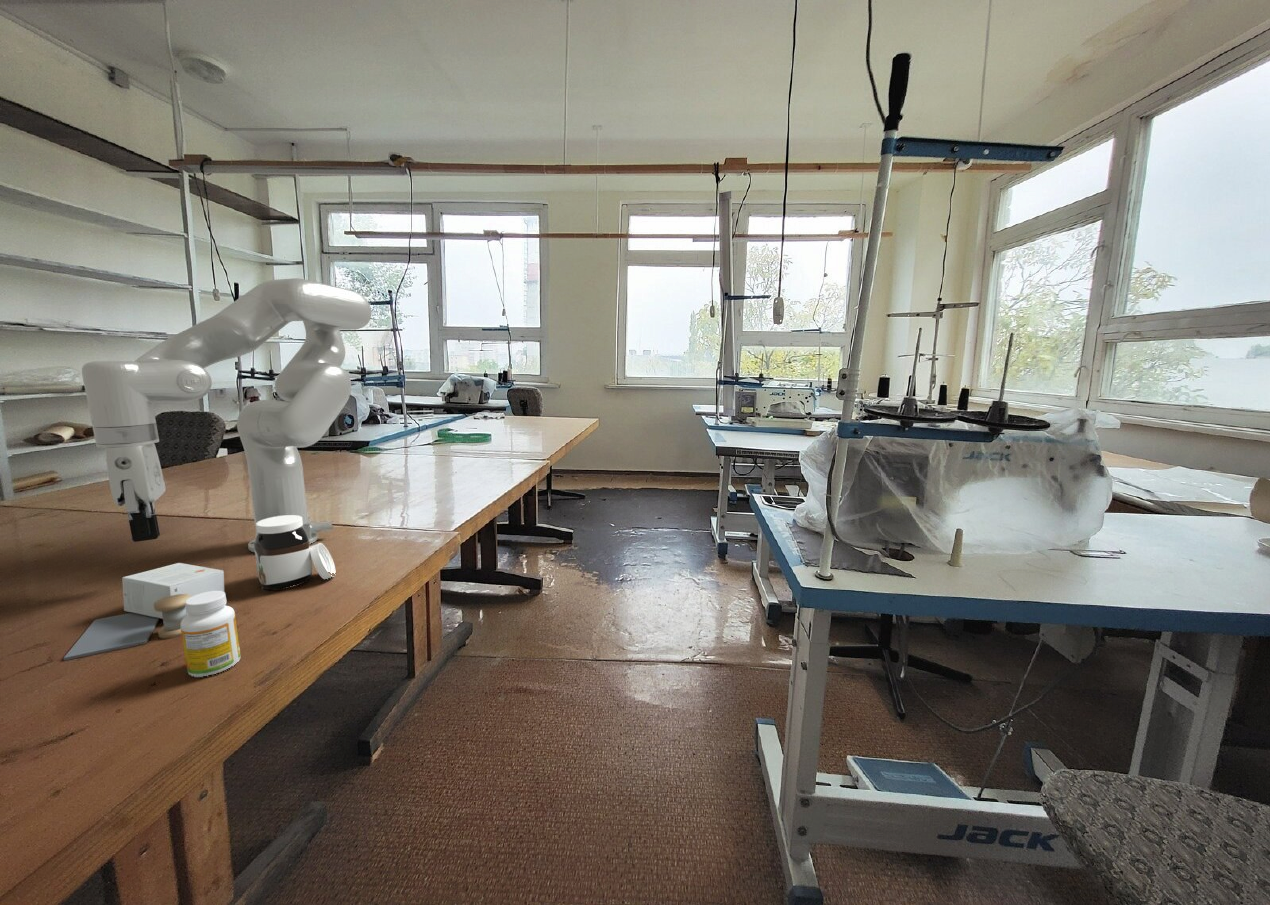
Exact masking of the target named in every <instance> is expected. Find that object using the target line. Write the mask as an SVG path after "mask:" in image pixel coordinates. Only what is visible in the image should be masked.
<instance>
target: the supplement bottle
mask: <svg viewBox="0 0 1270 905" xmlns="http://www.w3.org/2000/svg"><path fill="white" fill-rule="evenodd" d="M226 596H227V595H226V592H225V591H224V592H223V591H209V592H204V593H200V594H197V595H195V596H192V597H190V598H188V599H187V600H186V601H185V608H186V613H187V614H188V615H187V616H185V617H184V618H183V620H182V621H181V624H180V625H181V633H182V636H181V639H182V644H183V652H184V657H185V665H186V669H187V673H188V675H189V676H190V675H191V677H193V676H194V677H193V678H204V677H203V676H207V677H209V676H208V675H211V674H216V673H218V672H221V671H223V670H226V669H228V668H230V667H231V666H233V667H234V665H235V664H236V663H237V662H238V663H239V662H240V660H241V658H242V657H241V649H240V642H239V634H238V627H237V626H238V625H237V620H236V612H235V610H234V608H233V607H231V606H229V605H227V597H226ZM238 663H237V664H238ZM237 664H236V665H237ZM236 665H235V666H236ZM230 669H231V668H230ZM228 670H229V669H228ZM226 671H227V670H226ZM216 675H217V674H216Z"/></svg>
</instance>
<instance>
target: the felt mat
mask: <svg viewBox="0 0 1270 905" xmlns="http://www.w3.org/2000/svg"><path fill="white" fill-rule="evenodd" d="M160 620H161V618H156V617H151V616H147V615H142V614H137V613H132V612H128V613H124V614H118V615H112V616H108V617H107V616H106V617H102V618H97V619H94V620H93V622H92V623H91V624H90V625H89V626H88V628H87V629H86V630H85V631H84V632H83V634H82V635H81V636H80V637H79V638H78V640H77V641H76V642H75V644H74V645H73V646H72V647H71V648H70V650H69V651H68V652H67V653H66V655H65V656H64V657H63V661H70V660H73V659H79V658H83V657H84V658H85V657H88V656H93V655H97V654H102V653H107V652H111V651H115V650H116V651H117V650H121V649H126V648H130V647H135V646H140V645H145V644H147V642H148V641H149V639H150V637H151V636H152V634H153V632H154V631H155V629H156V627H157V625H158V623H159V621H160ZM139 644H140V645H139Z"/></svg>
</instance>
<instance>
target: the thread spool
mask: <svg viewBox="0 0 1270 905" xmlns="http://www.w3.org/2000/svg"><path fill="white" fill-rule="evenodd" d="M190 597H191V596H190V595H189V594H178V595H172V596H168V597H165V598H162V599H160V600H158V601H156V602H155V603H154V610H155V611H157V612H162V617H163V619H162V622H163V626H162V627H160V628H159V629H158V630H157V633H158V638H159V639H162V640H167V639H174V638H179V637H182V633H181V625H180V624H181V621H182V620H183V618H184V617H185V616H187V613H186V608H185V601H186V600H187V599H188V598H190Z"/></svg>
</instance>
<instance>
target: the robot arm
mask: <svg viewBox="0 0 1270 905" xmlns="http://www.w3.org/2000/svg"><path fill="white" fill-rule="evenodd" d="M372 312H373V311H372V308H371V304H370V302H368V300H367V299H366V298H365V296H363V295H362V294H361V293H359V292H357V291H354V290H352V289H349V288H344V287H339V286H336V285H332V284H327V283H323V282H320V281H319V282H318V281H314V280H310V279H304V278H298V277H295V278H281V279H280V278H279V279H269V280H265V281H263V282H261V283H258V284H257V285H256V286H255V287H253V288H252V289H250V290H248V292H246V293H245V294H243V295H242V296H240V297H239V298H237V299H236V300H235V301H233V302H232V303H231V304H229V305H228V306H226V307H224V308H223V309H222V310H220V311H219V312H217V313H216V314H213V316H211V317H209V318H207V319H205V320H203V321H200V322H198V323H197V324H194V325H193V326H191V327H188V328H187V329H185V330H183V331H181V332H178V333H176V334H174V335H171V336H170V337H168V338H167V339H165V340H163V341H162V342H160V343H158V344H157V345H155V346H154V347H153V348H151V349H150V350H149V351H146V352H145V353H144V354H142V355H141V356H140V357H138V358H137V359H135V360H134V361H132V360H131V361H130V360H98V361H97V360H96V361H88V362H86V363H84V364H83V366H82V368H81V376H82V380H83V386H84V391H85V395H86V401H87V407H88V410H89V415H90V420H91V424H92V432H93V436H94V440H95V446H96V448H103V449H104V452H105V453H104V454H105V463H106V468H107V469H106V470H107V476H108V482H109V487H110V492H111V497H112V500H113V502H114V504H115V505H117V506H119V507H122V506H124V505H125V511H126V514H127V518H128V523H129V528H130V534H131V539H132V542H134V543H137V542H144V541H151V540H156V539H158V538H159V536H160V535H161V532H160V527H159V523H158V517H157V514H156V508H155V507H156V506H155V502H156V501H157V500H158V499H159V498H160V497H161V496H163V494H164V493H165V492H166V483H165V478H164V473H163V470H162V466H161V462H160V461H161V460H160V458H159V454H158V450H157V447H156V443H160V438H159V437H160V436H159V431H158V426H157V420H156V413H155V408H154V403H156V402H166V403H167V402H168V403H169V402H170V403H191V402H195V401H198V400H200V399H202V398H205V397H206V395H207V394H208V393H209V392H210V391H211V388H212V384H213V382H212V377H211V375H210V374H209V372H208V370H206V368H208V367H209V366H212V365H214V364H216V363H219V362H223V361H226V360H231V359H236V358H239V357H241V356H244V355H247V354H250V353H252V352H254V351H256V350H257V349H259V347H260V346H262V345H263V344H264V343H266V342H267V341H268V340H269V339H271V338H272V337H273V336H274V335H275V334H277V333H278V332H279V331H281V330H282V329H283V328H284V327H286V326H287V325H288V324H289V323H291V322H302V323H303V326H304V329H305V339H304V341H303V344H302V345H301V347H300V348H299V350H298V351H297V352H296V353H295V355H294V356H292V358H291V359H290V360H289V361H288V363H287V364H286V365H285V367H283V369H282V370H281V372H280V373H279V374H278V376H277V377H276V379H275V383H274V390H275V392H276V394H277V395H278V397H279V398H280V399H281V400H280V399H261V400H255V401H253V402H250V403H248V404H247V405H245V406H244V407H242V408H241V410H240V412H239V413H238V415H237V420H236V427H237V428H236V429H237V432H238V436H239V438H240V442H241V444H242V446H243V450H244V454H245V458H246V459H245V460H246V463H247V464H246V465H247V470H248V478H249V488H250V495H251V496H250V497H251V504H252V512H253V513H252V514H253V520H254V529H255V536H256V535H257V534H258V532H257V530H256V523H257V522H258V521H261V520H263V519H267V518H271V517H276V516H284V515H298V516H301V517H302V521H303V525H302V527H303V528H304V530H305V531H306V533H307V536H308V538H309V543H310V545H312V544H313V542H314V543H315V542H317V540H318V538H319V534H318V532H327V531H333V521H328V522H326V520H322V521H317V522H314V521H311V518H310V516H308V508H307V498H306V489H305V479H304V469H303V461H302V458H301V454H300V452H299V450H298V448H308V447H310V446H313V445H315V444H316V443H317V442H319V440H321V439H322V438H323V437H324V435H325V434H326V432H328V430H329V429H330V428H331V426H332V424H333V423H334V421H335V420H336V419H337V417H338V416H339V414H340V413H341V411H342V410H343V409H344V407H345V406H346V404H347V402H348V401H349V399H350V396H351V393H352V382H351V377H350V376H349V374H348V372H347V371H346V370H345V369H343V367H341V366H342V365H343V363H344V361H345V357H346V348H345V344H344V340H343V337H342V333H341V331H342V330H343V331H345V330H347V331H348V330H349V331H351V330H352V331H353V330H360V329H363V328H364V327H366V326H367V325H368V323H370V321H371V318H372ZM254 540H255V538H254V539H252V540H250V541H249V542H248V545H247V547H248V551H251V552H252V553H255V549H254ZM311 543H312V544H311Z"/></svg>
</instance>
